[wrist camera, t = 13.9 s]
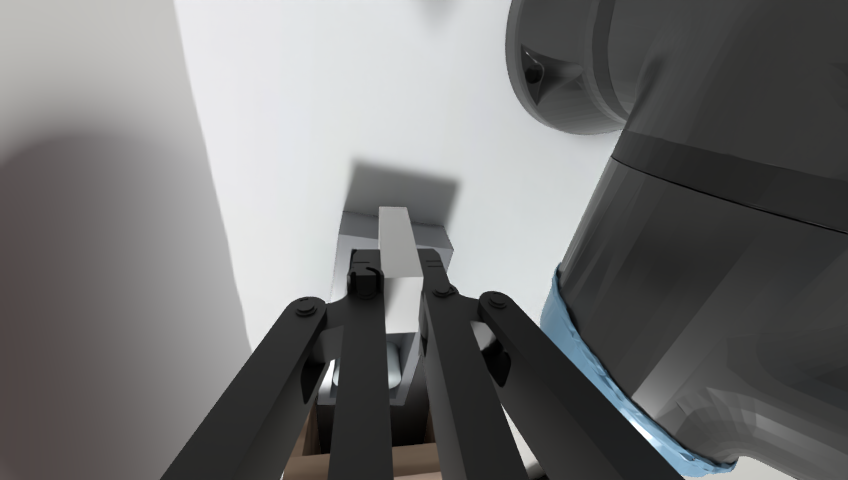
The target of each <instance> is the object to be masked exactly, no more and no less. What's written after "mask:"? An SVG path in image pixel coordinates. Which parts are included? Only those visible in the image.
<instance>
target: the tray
mask: <svg viewBox="0 0 848 480" xmlns="http://www.w3.org/2000/svg"><path fill="white" fill-rule="evenodd" d="M410 223H411V227H412V231H413V236H414V240H415V244H416V248H417V249H430V248H433V249H434V250H435V251H437V252H438V253H439V254H440V257H441V260H442V263H443V265H444V268H445V271H446V273H447V270H448V267H449V263H450V260H451V257H452V254H453V251H454V249H453V247H452V245H451V242H450V240H449V238H448V236H447V234H446V231H445V229H444V227H443V226H436V225H430V224H423V223H417V222H410ZM378 244H379V217H378V216H371V215H365V214H358V213H352V212H345V211H343V214H342V219H341V224H340V229H339V234H338V242H337V250H336V258H335V266H334V274H333V282H332V290H331V298H330V303H332V302H335V301H338V300H340V299H342V298H343V297H345V296H346V295H347V274H348V271H350V270H351V269H352V263H353V255H354V254H355V253H356V252H357V250H358V249H378ZM419 341H420V327H418V332H408V333H386V343H387V362H388V381H389V400H390V405H404V403H405V400H406V397H407V394H408V391H409V388H410V385H411V382H412V378H413V375H414V372H415V369H416V366H417V363H418V360H419V357H420V356H418V350H419ZM339 367H340V358H338V359H335V360H332V361H331V363H330V366H329V369H328V371H327V373H326V375H325V378H324V380H323V382H322V385H321V387H320V389H319V394H318V402H317V405H335V404H336V395H337V385H338V376H339Z"/></svg>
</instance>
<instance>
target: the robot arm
mask: <svg viewBox="0 0 848 480" xmlns="http://www.w3.org/2000/svg"><path fill="white" fill-rule="evenodd" d="M505 53H506V64H507V70H508V75H509V78H510V82H511V85H512V87H513V90H514V92H515V94H516V96H517V98H518V100H519V101H520V103H521V104H522V106H523V107H524V108H525V110H526V111H527V112H528V113H529V114H530V115H531V116H532V117H534V118H535V119H536V120H537V121H539V122H540V123H542V124H544V125H546V126H548V127H551V128H554V129H557V130H560V131H563V132H566V133H570V134H576V135H594V134H601V133H606V132H611V131H616V130H621V129H623V131H622V133H621V135H620V138H619V140H618V142H617V144H616V146H615V149H614V151H613V153H612V155H611V156H610V158H609V160H608V162H607V165H606V167H605V169H604V171H603V173H602V175H601V178H600V180H599V182H598V184H597V186H596V189H595V191H594V193H593V195H592V197H591V199H590V202H589V204H588V206H587V208H586V210H585V212H584V215H583V217H582V219H581V221H580V223H579V226H578V228H577V230H576V232H575V234H574V236H573V239H572V241H571V243H570V245H569V247H568V250H567V252H566V254H565V256H564V258H563V260H562V262H560V263H559V265H558V266H557V267H556V269H555V272H554V276H553V278H552V287H551V289H550V292H549V295H548V297H547V300H546V302H545V305H544V307H543V310H542V314H541V318H540V328H539V327H538V326H537V325H536V324H535V323H534V322H533V321H532V320H531V319H530V318H529V317H528V316H527V314H526V313H525V312H524V311H523V310H522V309H521V308H520V307H519V306H518V305H517V304H516V303H515V302H514V301H513V300H512V299H511V298H510V297H508V296H507V295H505V294H503V293H501V292H496V291H487V292H485V293H482V295H481V296H480V298H479V299H474V298H469V297H465V296H462V295H460V294H459V292H458V290H457V289H456V287H455V286H453V285H452V284H450V282H449V279H448V277H447V274H446V271H445V268H444V265H443V263H442V260H441V257H440V254H439V253H438V252H437V251H435V250H434V249H433V248H430V249H417V248H416V244H415V240H414V236H413V231H412V227H411V223H410V219H409V215H408V211H407V207H379V244H378V249H358V250H357V252H356V253H355V254H354V255H353V263H352V269H351V270H350V271H348V274H347V295H346V296H345V297H343V298H342V299H340V300H338V301H335V302H332V303H328V304H325V302H324V301H323V300H322V299H320V298H317V297H303V298H299V299H297V300H295V301H293V302H291V303H290V304H289V305H288V306H287V307H286V309H285V310H284V311H283V313H282V314H281V315H280V317H279V318H278V319H277V321H276V322H275V324H274V325H273V326H272V328H271V329H270V330H269V332H268V333H267V334H266V336H265V337H264V339H263V340H262V341H261V343H260V344H259V345H258V347H257V348H256V349H255V351H254V352H253V353H252V355H251V356H250V358H249V359H248V360H247V362H246V363H245V365H244V366H243V367H242V369H241V370H240V371H239V373H238V374H237V375H236V377H235V378H234V379H233V381H232V382H231V383H230V385H229V386H228V388H227V389H226V390H225V392H224V393H223V394H222V396H221V397H220V398H219V400H218V401H217V402H216V404H215V405H214V407H213V408H212V409H211V411H210V412H209V413H208V415H207V416H206V417H205V419H204V420H203V422H202V423H201V424H200V426H199V427H198V428H197V430H196V431H195V432H194V434H193V435H192V437H191V438H190V439H189V441H188V442H187V443H186V445H185V446H184V447H183V449H182V450H181V451H180V453H179V454H178V456H177V457H176V458H175V460H174V461H173V462H172V464H171V465H170V467H169V468H168V469H167V471H166V472H165V473H164V475H163V476H162V477H161V479H160V480H280V478H281V476H282V474H283V471H284V469H285V467H286V464H287V462H288V460H289V458H290V455H291V453H292V451H293V448H294V446H295V444H296V442H297V439H298V437H299V435H300V432H301V430H302V428H303V426H304V423H305V421H306V419H307V416H308V414H309V412H310V410H311V407H312V405H313V403H314V400H315V398H316V396H317V394H318V391H319V389H320V387H321V385H322V382H323V380H324V378H325V375H326V373H327V371H328V369H329V366H330V363H331V361H332V360H335V359H338V358H340V367H339V376H338V385H337V395H336V404H335V413H334V422H333V431H332V441H331V450H330V459H329V468H328V478H327V480H394V476H393V457H392V438H391V419H390V400H389V381H388V362H387V343H386V333H408V332H418V327H420V341H419V350H418V356H421V355H422V361H423V367H424V373H425V379H426V385H427V391H428V397H429V403H430V409H431V415H432V421H433V427H434V433H435V439H436V445H437V451H438V457H439V463H440V469H441V476H442V480H529V477H528V475H527V472H526V469H525V467H524V464H523V461H522V459H521V456H520V453H519V451H518V448H517V445H516V443H515V440H514V437H513V435H512V432H511V429H510V427H509V424H508V422H507V419H506V416H505V414H504V411H503V408H502V406H503V407H504V409H505V410H506V412H507V413H508V415H509V417H510V418H511V420H512V421H513V423H514V424H515V426H516V428H517V429H518V431H519V432H520V434H521V435H522V437H523V439H524V440H525V442H526V443H527V445H528V446H529V448H530V450H531V451H532V453H533V454H534V456H535V457H536V459H537V460H538V462H539V464H540V465H541V467H542V468H543V470H544V471H545V473H546V475H547V476H548V478H549V479H550V480H685V479H684V478H683V477H682V476H681V475H684V476H690V477H702V476H704V475H706V474H709V473H711V474H716V473H725V472H731V471H732V470H733V469H734V468H735V466H736V463H737V461H738V458H739V456H747V457H751V458H754V459H756V460H759V461H760V462H762V463H765V464H767V465H769V466H771V467H772V468H775V469H777V470H779V471H781V472H783V473H785V474H787V475H789V476H791V477H793V478H795V479H797V480H848V0H513V1H512V5H511V8H510V12H509V17H508V22H507V29H506V42H505ZM501 404H502V406H501Z"/></svg>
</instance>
